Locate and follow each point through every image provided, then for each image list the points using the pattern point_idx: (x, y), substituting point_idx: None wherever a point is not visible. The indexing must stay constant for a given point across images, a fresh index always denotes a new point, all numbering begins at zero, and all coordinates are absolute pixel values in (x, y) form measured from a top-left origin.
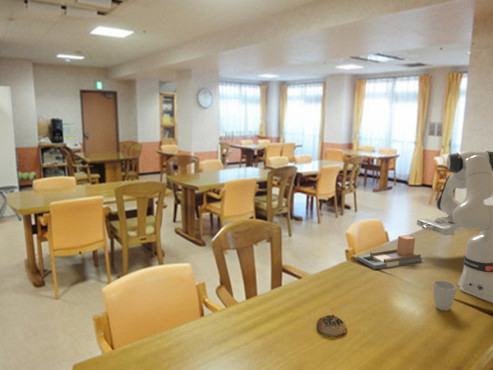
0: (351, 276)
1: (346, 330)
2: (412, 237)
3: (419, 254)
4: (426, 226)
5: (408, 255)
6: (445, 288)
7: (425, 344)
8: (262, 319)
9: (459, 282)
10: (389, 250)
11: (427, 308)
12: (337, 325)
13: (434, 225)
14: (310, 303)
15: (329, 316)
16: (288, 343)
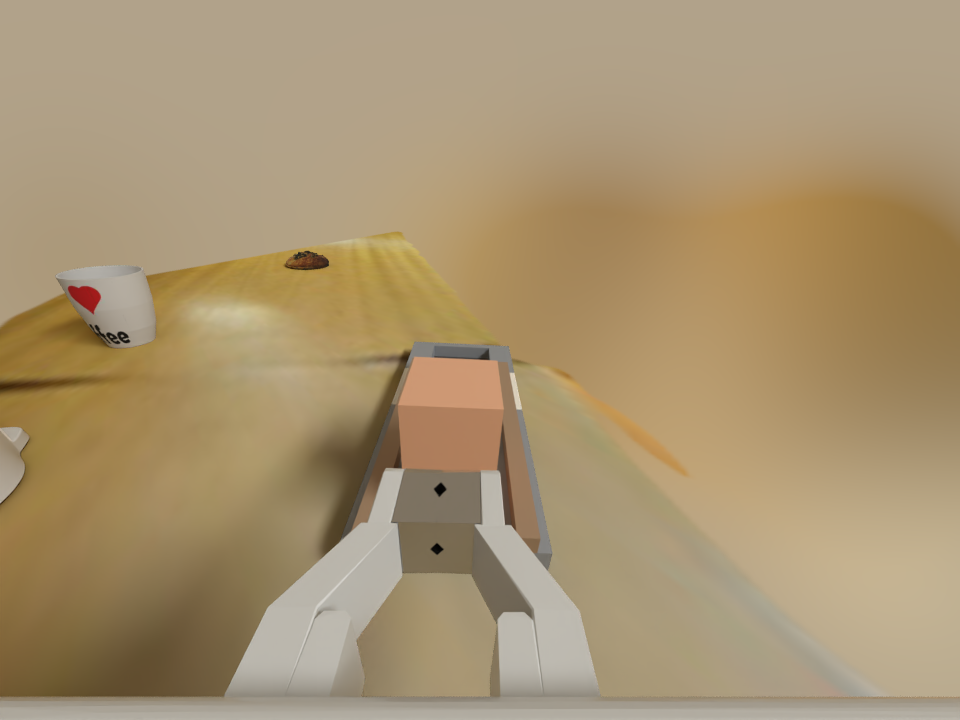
0: (411, 315)
1: (286, 264)
2: (425, 402)
3: (356, 524)
4: (404, 491)
5: (392, 449)
6: (105, 302)
7: (165, 285)
8: (378, 254)
9: (8, 453)
10: (504, 421)
11: (178, 325)
12: (294, 254)
13: (179, 704)
14: (372, 271)
15: (314, 254)
16: (324, 252)
